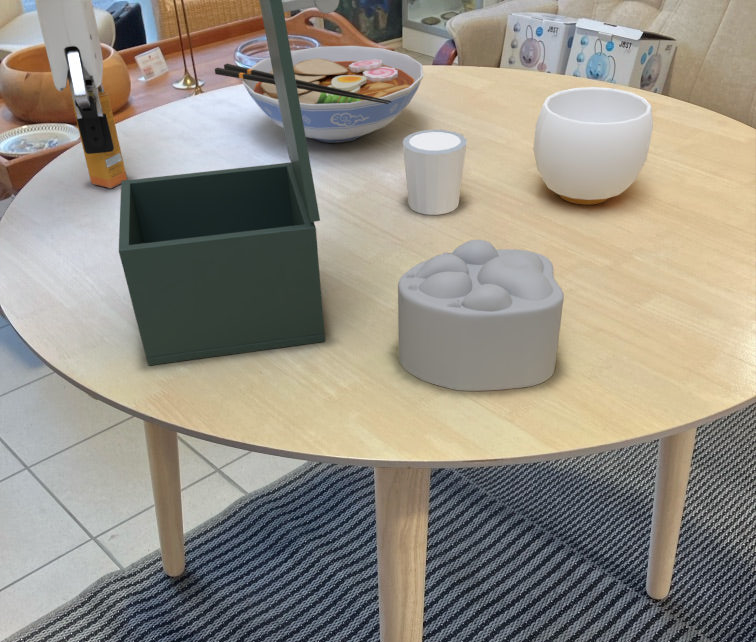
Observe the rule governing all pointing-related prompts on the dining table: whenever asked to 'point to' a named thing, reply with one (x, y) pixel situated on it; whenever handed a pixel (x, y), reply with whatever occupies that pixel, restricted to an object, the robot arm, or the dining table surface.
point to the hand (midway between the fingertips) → (100, 141)
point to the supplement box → (105, 153)
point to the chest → (220, 262)
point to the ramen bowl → (338, 89)
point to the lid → (291, 90)
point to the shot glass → (434, 170)
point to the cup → (592, 142)
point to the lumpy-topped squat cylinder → (480, 318)
